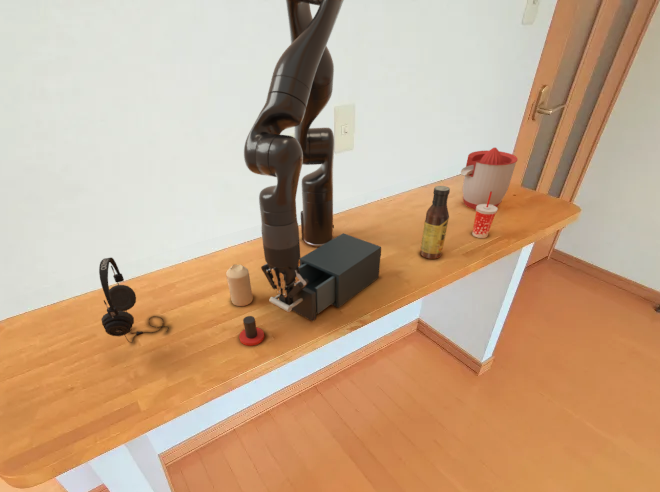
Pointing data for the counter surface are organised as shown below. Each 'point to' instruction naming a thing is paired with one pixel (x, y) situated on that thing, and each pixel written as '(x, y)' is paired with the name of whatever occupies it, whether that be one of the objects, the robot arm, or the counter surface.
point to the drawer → (311, 293)
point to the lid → (251, 332)
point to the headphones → (117, 302)
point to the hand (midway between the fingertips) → (287, 306)
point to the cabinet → (347, 264)
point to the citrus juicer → (487, 177)
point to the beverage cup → (483, 219)
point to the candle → (239, 285)
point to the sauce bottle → (435, 224)
